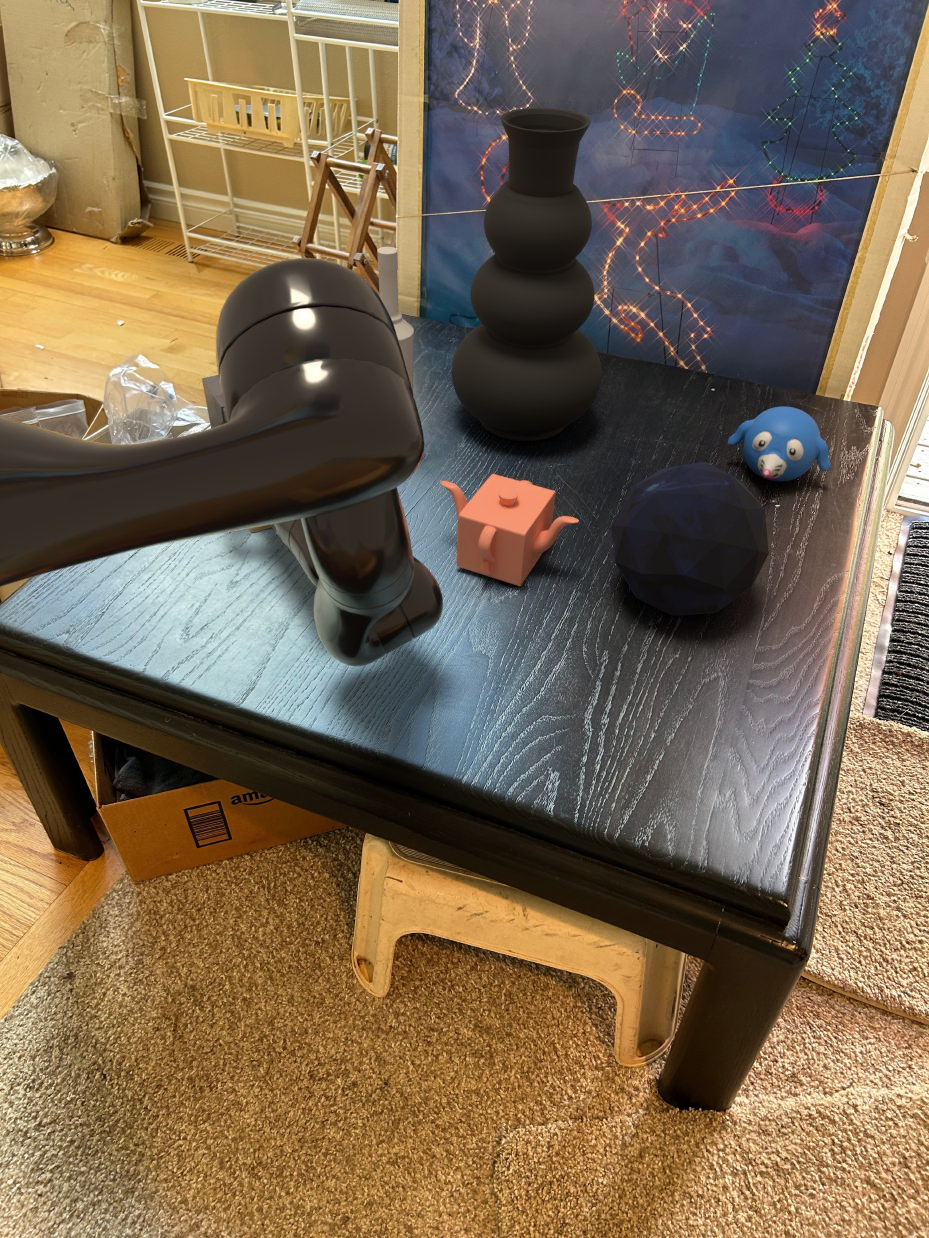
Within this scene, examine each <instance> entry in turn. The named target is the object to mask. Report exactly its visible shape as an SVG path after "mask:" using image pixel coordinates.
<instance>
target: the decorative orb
mask: <svg viewBox="0 0 929 1238" xmlns="http://www.w3.org/2000/svg"><path fill="white" fill-rule="evenodd" d="M766 517H767V516H766V508H765V507H764V505H763V504H762V503H761V502H760V500H758V499H757V498H756V496H754V494H753V493H752V492H751V490H749V488H748V487H747V486H746V485H745V484H744V482H743V481H742V480H740V479H738V478H737V477H735V476H733V475H732V474H731V473H728V472H726V471H724V470H723V469H720V468H719V467H716V466H714V465H712V464H710V463H708V462H706V461H701V462H695V463H688V464H682V465H674V466H669V467H663V468H661V469H659V470H658V471H656V472H654V473H653V474H651V475H649V476H648V477H647V478H645V479H643V480H641V481H640V482H638V483H636V484H635V485H633V486H632V488H631V490H630V492H629V494H628V495H627V497H626V499H625V500H624V502H623V504H622V506H621V508H619V511H618V513H617V515H616V516H615V518H614V520H613V522H612V524H611V525H610V528H611V537H612V538H611V539H612V546H613V556H614V557H613V558H614V562H615V564H616V567H617V568H618V570H619V572H620V573H621V575H622V577H623V578H624V580H625V582H626V583H627V585H628V587H629V588H630V590H631V592H632V593H633V595H634V596H635V598H636V599H637V600H640V601H642V602H643V603H646V604H648V605H650V606H652V607H653V608H656V609H658V610H660V611H662V612H663V613H666V614H667V615H669V616H672V617H679V616H680V617H681V616H695V615H706V614H707V615H708V614H716V613H718V612H719V611H721V610H722V609H723V608H725V607H727V605H729V604H730V603H731V602H733V601H734V600H736V599H737V598H739V597H740V596H741V595H743V594H744V593H745V592H747V591H749V590H750V589H751V588H752V587H753V585H754V584H755V582H756V580H757V578H758V576H759V574H760V572H761V570H762V568H763V566H764V565H765V562H766V560H767V559H768V556H769V554H770V553H769V552H770V551H769V541H768V530H767V529H768V528H767V518H766Z"/></svg>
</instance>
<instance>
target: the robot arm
mask: <svg viewBox="0 0 929 1238" xmlns="http://www.w3.org/2000/svg"><path fill="white" fill-rule="evenodd" d="M215 361H216V368H217V369H216V370H217V375H219V381H220V387H221V392H222V398H223V403H224V408H225V414H226V419H227V421H225V422H221V425H220V426H217V427H215V428H212V429H211V428H208V429H206V430H201V431H198V432H196V433H195V432H194V433H191V434H187V435H182V436H177V437H171V438H165V439H164V438H163V439H158V440H153V441H152V440H151V441H146V442H140V443H126V444H125V443H124V444H117V443H104V442H98V441H91V440H87V439H84V438H83V439H82V438H78V437H75V436H70V435H66V434H63V433H60V432H57V431H52V430H49V429H46V428H43V427H40V426H36V425H33V424H29V423H26V422H22V421H20V420H16V419H12V418H8V417H4V416H0V588H1V587H5V586H7V585H11V584H15V583H18V582H21V581H25V580H28V579H31V578H35V577H38V576H41V575H44V574H49V573H53V572H57V571H60V570H63V569H67V568H71V567H74V566H78V565H79V566H80V565H81V564H87V563H89V562H94V561H98V560H102V559H105V558H109V557H113V556H118V555H121V554H126V553H129V552H133V551H137V550H141V549H142V550H143V549H146V548H150V547H157V546H160V545H165V544H170V543H175V542H176V543H177V542H181V541H187V540H192V539H199V538H203V537H209V536H214V535H220V534H226V533H231V532H238V531H243V530H249V528H254V527H259V526H265V525H272V529H273V532H274V533H275V534H276V535H278V537H279V538H280V540H281V542H282V543H283V544H284V545H285V546H286V548H288V550H290V551H291V552H292V554H293V556H294V557H295V559H296V560H297V562H298V563H299V565H300V567H301V568H302V570H303V571H304V574H305V575H306V577H307V579H309V581H310V582H311V583H312V584H313V585H314V586H315V587H316V589H315V592H314V598H313V618H314V625H315V629H316V631H317V635H318V637H319V640H320V641H321V643H322V645H323V646H324V648H325V650H326V651H327V653H328V654H329V655H330V656H331V657H332V658H334V659H335V660H336V661H337V662H339V663H341V664H344V665H345V666H350V667H363V666H368V665H370V664H372V663H374V662H376V661H378V660H379V659H381V658H383V657H385V656H386V655H388V654H390V653H392V652H393V651H395V650H397V649H400V648H401V647H403V646H405V645H406V644H408V643H410V642H412V641H413V640H415V639H417V638H419V637H421V636H422V635H424V634H426V633H427V632H429V631H430V630H432V629H434V627H435V626H437V624H438V623H439V622H440V620H441V618H442V616H443V615H442V614H443V610H444V597H443V592H442V589H441V587H440V584H439V582H438V581H437V578H436V577H435V576H434V574H433V573H432V572H431V571H430V569H429V568H428V567H427V566H426V565H425V564H424V563H423V562H421V561H420V560H419V559H418V558H417V557H415V556H414V554H413V548H412V540H411V535H410V531H409V526H408V521H407V518H406V515H405V511H404V507H403V504H402V501H401V497H400V493H399V490H398V487H400V486H401V485H402V484H403V483H405V482H406V481H407V480H408V479H409V478H410V477H411V476H412V475H413V474H414V473H415V472H416V471H417V469H418V468H419V466H420V463H421V462H422V458H423V457H424V453H425V438H424V437H425V436H424V431H423V426H422V421H421V417H420V414H419V409H418V407H417V406H418V405H417V401H416V400H415V397H414V390H413V391H412V387H411V383H410V380H409V376H408V372H407V369H406V365H405V361H404V358H403V354H402V351H401V347H400V345H399V341H398V338H397V334H396V331H395V327H394V324H393V322H392V319H391V317H390V315H389V313H388V311H387V309H386V307H385V305H384V304H383V302H382V300H381V298H380V294H379V293H378V292H377V290H375V289H374V287H373V286H372V285H371V284H370V282H368V281H367V280H366V279H365V278H364V277H363V276H361V275H360V274H358V273H357V272H355V270H353V269H351V268H349V267H347V266H344V265H342V264H339V263H337V262H335V261H331V260H326V259H321V258H314V257H313V258H311V257H299V258H298V257H297V258H291V259H283V260H279V261H276V262H273V263H270V264H267V265H265V266H263V267H261V268H259V269H256V270H254V271H253V272H252V273H250V274H249V275H247V276H246V277H244V279H242V280H241V281H240V282H239V283H238V284H237V285H236V286H235V287H234V288H233V290H231V292H230V293H228V296H227V297H226V299H225V302H224V303H223V305H222V307H221V309H220V313H219V317H218V320H217V324H216V328H215Z"/></svg>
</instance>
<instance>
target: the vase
mask: <svg viewBox="0 0 929 1238" xmlns="http://www.w3.org/2000/svg"><path fill="white" fill-rule="evenodd" d="M499 120H500V121H501V125H502V127H503V129H504V131H505V133H506V136H507V142H508V180H506V181H505V182H503V184H501V186H500V187H499V188H498V189H497V191H496V192H495V193H494V195H493V196H492V197H491V199H490V200H489V202H488V204H487V206H486V208H485V211H484V216H483V229H484V230H483V231H484V235H485V238H486V240H487V243H488V244H489V246H490V248H491V249H492V252H494V254H493V255H491V256H490V257H489V258H487V260H486V261H484V262H483V263H482V264H481V266H480V267H479V268H478V270H476V273H475V275H474V277H473V278H472V281H471V286H470V303H471V307H472V309H473V311H474V314H475V315H476V317H477V319H478V320H479V322H480V324H479V325H477V326H475V327H474V328H472V330H470V332H468V333H467V334H466V335H465V336H464V337H463V339H462V340H461V342H460V343H459V344H458V347H457V348H456V350H455V353H454V356H453V359H452V364H451V378H452V379H451V380H452V381H451V382H452V386H453V389H454V392H455V394H456V396H457V398H458V400H459V402H460V404H461V405H462V406H463V408H464V409H465V410H466V411H467V412H469V414H471V416H473V417H474V418H475V419H477V420H478V421H479V422H480V424H481V425H482V427H483V428H484V429H486V431H488V432H489V433H491V434H492V435H494V436H497V437H499V438H503V439H506V440H510V441H515V442H537V441H544V440H547V439H551V438H553V437H556V436H557V435H558V434H560V433H562V432H563V430H565V428H566V426H568V425H570V424H573V423H575V422H576V421H577V420H579V419H580V418H581V417H582V416H583V415H584V414H585V413H587V411H589V409H590V408H591V406H592V405H593V403H594V402H595V400H596V398H597V397H598V395H599V392H600V388H601V384H602V375H603V374H602V372H603V371H602V364H601V363H602V362H601V359H600V356H599V353H598V351H597V349H596V348H595V346H594V344H593V343H592V341H591V340H590V339H589V337H588V336H587V335H586V334H585V333H583V332H582V331H581V330H580V328H581V327H582V326H583V325H584V323H585V322H586V321H587V320H588V318H589V317H590V316H591V313H592V310H593V309H594V304H595V298H596V296H595V295H596V293H595V286H594V282H593V280H592V277H591V275H590V273H589V272H588V269H586V267H584V265H583V264H582V263H581V262H580V261H579V260H578V259H577V257H578V256H579V255H580V254H581V252H582V251H583V250H584V248H585V247H586V245H587V243H588V241H589V239H590V237H591V234H592V230H593V229H592V228H593V227H592V226H593V217H592V212H591V208H590V206H589V203H588V202H587V200H586V198H585V196H584V195H583V194H582V192H581V190H580V188H579V187H578V186H577V185H576V184H574V182H575V181H574V180H575V174H576V165H577V160H578V158H577V157H578V154H579V149H580V143H581V140H582V139H583V137H584V136H585V134H586V132H587V130H588V129H589V127H590V126H591V124H592V123H591V122H592V121H591V119H590V118H589V117H588V116H586V115H584V114H581V113H579V112H575V111H572V110H567V109H561V108H552V107H551V108H550V107H526V108H525V107H524V108H518V109H513V110H508V111H506V112H504V113H502V114H501V115H500V119H499Z"/></svg>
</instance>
